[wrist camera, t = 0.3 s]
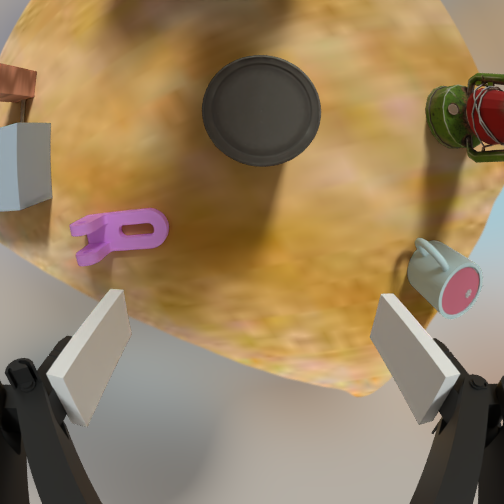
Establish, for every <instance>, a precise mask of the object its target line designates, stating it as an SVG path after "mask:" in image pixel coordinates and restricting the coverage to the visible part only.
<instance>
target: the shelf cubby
mask: <svg viewBox="0 0 504 504" xmlns="http://www.w3.org/2000/svg"><path fill="white" fill-rule="evenodd" d="M50 132H51V123H14V124H11V125H7V126H4V127H1V128H0V212H1V211H16V210H22V209H25V208H27V207H30V206H32V205H35V204H38V203H40V202H43V201H46V200H48V199H51V198H52V186H51V163H50Z"/></svg>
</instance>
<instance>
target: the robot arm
mask: <svg viewBox="0 0 504 504" xmlns="http://www.w3.org/2000/svg"><path fill="white" fill-rule="evenodd" d="M131 335H132V334H131V328H130V324H129V318H128V313H127V307H126V302H125V296H124V290H120V289H110V290H109V291H108V292H107V293H106V295H105V296H104V297H103V298H102V300H101V301H100V302H99V303H98V305H97V306H96V307H95V308H94V310H93V311H92V312H91V314H90V315H89V316H88V317H87V319H86V320H85V321H84V322H83V324H82V325H81V327H80V328H79V329H78V330H77V332H76V333H75V334H74V336H73V337H72V336H66V337H65V338H63V339H62V340H61V341H59V342H58V344H57V345H56V346H55V347H54V349H53V351H51V353H50V354H49V356H48V357H47V358H46V359H45V361H44V362H43V363H42V365H41V366H40V367H39V369H38V370H36V368H35V366H34V364H33V362H32V361H31V360H30V359H26V358H21V359H17V360H14V361H13V362H11V363H10V364H9V365H8V366H7V368H6V371H5V374H6V376H7V378H8V380H9V382H10V384H11V385H2V383H1V381H0V504H30V503H29V493H28V481H27V459H28V463H29V466H30V469H31V473H32V476H33V479H34V482H35V485H36V488H37V491H38V494H39V497H40V499H41V502H42V504H102V503H101V501H100V499H99V497H98V495H97V493H96V491H95V490H94V488H93V486H92V484H91V482H90V480H89V478H88V476H87V474H86V472H85V470H84V468H83V465H82V463H81V461H80V459H79V456H78V454H77V452H76V450H75V447H74V445H73V442H72V440H71V437H70V435H69V432H68V429H67V427H66V424H65V423H64V421H63V420H64V418H65V416H66V414H67V416H68V417H69V419H70V421H71V422H72V423H73V424H77V425H80V426H84V427H88V425H89V423H90V420H91V419H92V416H93V414H94V412H95V410H96V407H97V405H98V403H99V401H100V398H101V396H102V394H103V392H104V390H105V388H106V386H107V383H108V381H109V379H110V377H111V375H112V373H113V371H114V369H115V367H116V365H117V363H118V361H119V359H120V357H121V355H122V353H123V351H124V349H125V347H126V345H127V343H128V341H129V339H130V337H131ZM370 338H371V340H372V342H373V343H374V345H375V347H376V348H377V350H378V352H379V354H380V355H381V357H382V359H383V361H384V362H385V364H386V366H387V368H388V369H389V371H390V373H391V375H392V376H393V378H394V380H395V382H396V383H397V385H398V387H399V389H400V391H401V392H402V394H403V396H404V398H405V400H406V402H407V404H408V405H409V407H410V409H411V411H412V413H413V415H414V417H415V419H416V421H417V422H418V424H419V425H420V424H423V423H427V422H430V421H433V420H434V418H435V416H436V415H437V413H438V412H440V414H441V415H442V418H441V419H440V421H439V422H438V424H437V425H436V427H435V428H434V430H433V431H432V434H434V432H435V431H436V434H435V437H434V440H433V444H432V447H431V450H430V453H429V456H428V459H427V462H426V464H425V467H424V470H423V473H422V476H421V478H420V480H419V483H418V485H417V488H416V490H415V492H414V495H413V497H412V499H411V502H410V504H473V500H474V497H475V493H476V489H477V485H478V488H479V489H478V504H504V376H503V377H502V378H501V380H500V382H499V383H498V384H488V383H487V382H486V380H485V379H484V378H482V377H481V376H478V375H473V374H472V375H469V374H468V373H467V372H466V370H465V369H464V368H463V366H462V365H461V364H460V363H459V362H458V361H457V359H456V358H455V357H454V356H453V354H452V353H451V352H449V349H448V348H447V347H446V346H445V345H444V344H443V343H442V342H440V341H439V340H437V339H436V338H434V339H432V338H431V336H430V335H429V334H428V333H427V332H426V331H425V329H424V328H423V327H422V326H421V325H420V323H419V322H418V321H417V320H416V319H415V318H414V316H413V315H412V314H411V313H410V312H409V311H408V310H407V308H406V307H405V306H404V305H403V304H402V303H401V302H400V301H399V299H398V298H397V297H396V296H395V295H394V294H381V296H380V300H379V304H378V308H377V312H376V316H375V320H374V324H373V327H372V331H371V335H370ZM502 419H503V426H501V423H500V422H501V420H502Z"/></svg>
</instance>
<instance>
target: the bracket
mask: <svg viewBox="0 0 504 504" xmlns="http://www.w3.org/2000/svg"><path fill="white" fill-rule="evenodd" d="M142 223H150V224H152V225H153V227H154V233H150V234H138V235H125V234H124V233H123V232H122V225H131V224H142ZM70 230H71V235H72V236H82V235H86V234H87V237H88V242H89V244H88V245H87V246H85V247H84V248H83V249H81V250H80V251H79V252H77V253H76V258H77V262H78V265H79V266H88V265H92V264H95V263H98V262H99V261H101V260H102V259H103V258H104V257H105V256H106V255H107V254H108V253H110V252H112V251H121V250H135V249H150V248H155V247H158V246H159V245H161V244H162V243H163V241H164V240H165V239H166V237H167V235H168V232H169V224H168V221H167V218H166V217H165V215H164V214H163V213H162V212H160V211H159V210H157V209H154V208H144V209H135V210H126V211H117V212H109V213H100V214H93V215H87V216H85V217H83V218H81V219H79V220H77V221H75V222H74V223H72V224H70Z"/></svg>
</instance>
